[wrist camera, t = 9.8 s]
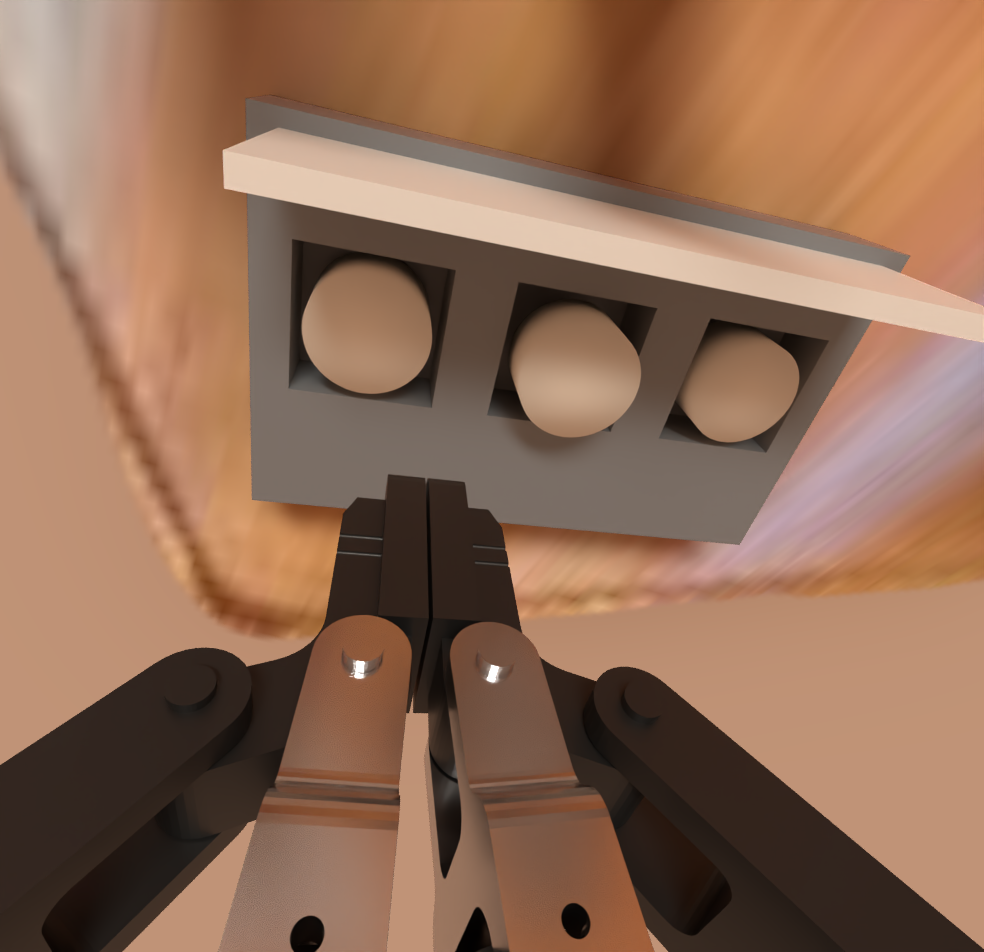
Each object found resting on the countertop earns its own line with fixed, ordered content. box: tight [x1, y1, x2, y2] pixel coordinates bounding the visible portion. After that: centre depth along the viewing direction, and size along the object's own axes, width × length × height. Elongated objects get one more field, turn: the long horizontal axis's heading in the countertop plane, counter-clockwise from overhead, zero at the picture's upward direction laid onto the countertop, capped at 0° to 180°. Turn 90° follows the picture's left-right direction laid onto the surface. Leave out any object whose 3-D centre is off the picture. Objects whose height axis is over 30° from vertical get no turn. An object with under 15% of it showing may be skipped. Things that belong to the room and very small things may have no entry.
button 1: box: [302, 252, 432, 394], centre depth 24 cm, size 5×5×3 cm
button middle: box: [508, 299, 641, 438], centre depth 24 cm, size 5×5×3 cm
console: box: [223, 95, 984, 545], centre depth 24 cm, size 26×16×11 cm, turn 78°
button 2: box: [675, 321, 799, 442], centre depth 27 cm, size 5×5×3 cm
